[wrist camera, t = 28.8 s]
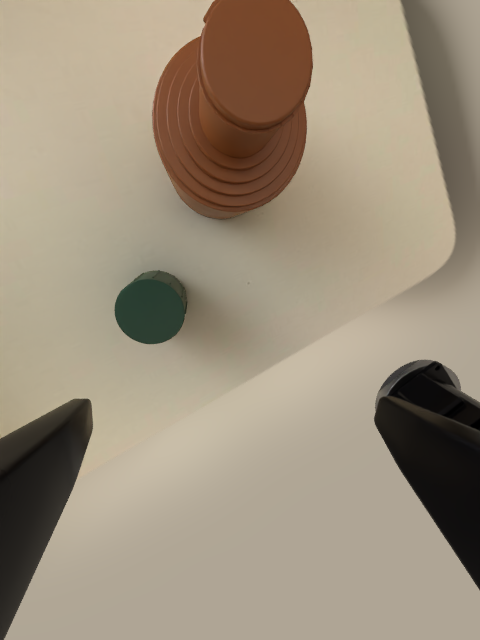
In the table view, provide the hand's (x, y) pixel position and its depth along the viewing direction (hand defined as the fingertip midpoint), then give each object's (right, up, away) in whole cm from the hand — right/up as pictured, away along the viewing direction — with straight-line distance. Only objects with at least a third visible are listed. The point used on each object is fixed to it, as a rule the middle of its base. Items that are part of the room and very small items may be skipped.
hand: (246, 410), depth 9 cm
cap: (-6, +4, +11) cm, 14 cm away
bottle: (-2, +13, +10) cm, 16 cm away
